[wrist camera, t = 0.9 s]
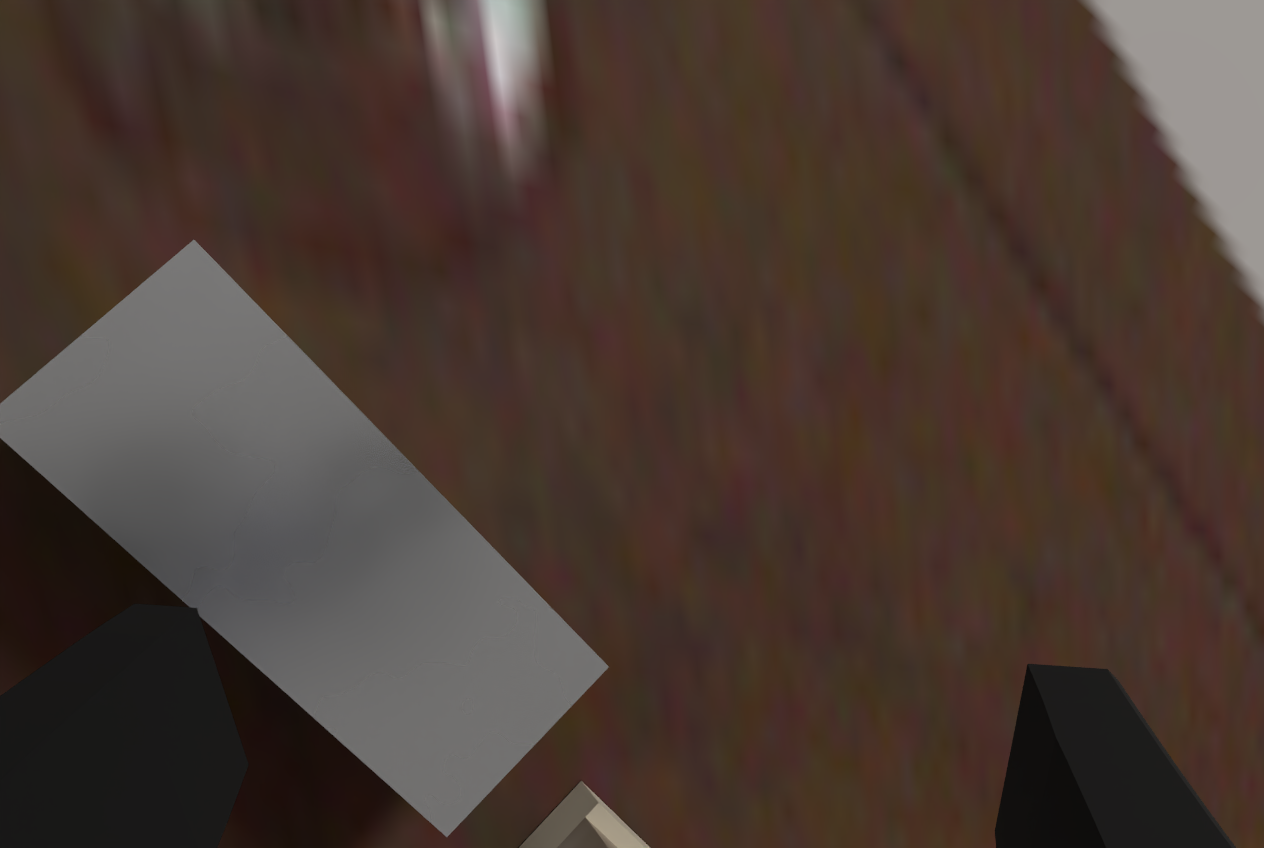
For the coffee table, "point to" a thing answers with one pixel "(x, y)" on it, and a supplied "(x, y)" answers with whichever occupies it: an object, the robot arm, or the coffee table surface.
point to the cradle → (583, 825)
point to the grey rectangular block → (301, 535)
